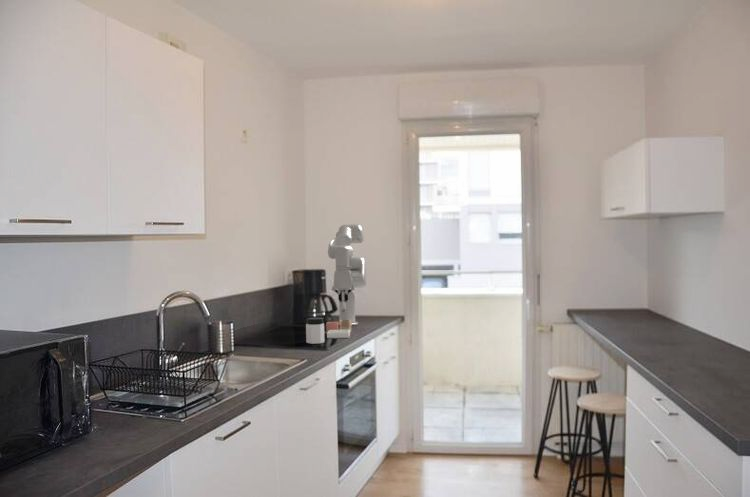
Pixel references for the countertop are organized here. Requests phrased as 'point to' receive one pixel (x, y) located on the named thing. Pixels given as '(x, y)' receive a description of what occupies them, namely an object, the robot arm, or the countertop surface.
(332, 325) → the red block small bore
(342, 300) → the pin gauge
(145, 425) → the countertop surface
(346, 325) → the beech block wide bore
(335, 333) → the tray
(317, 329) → the jar
